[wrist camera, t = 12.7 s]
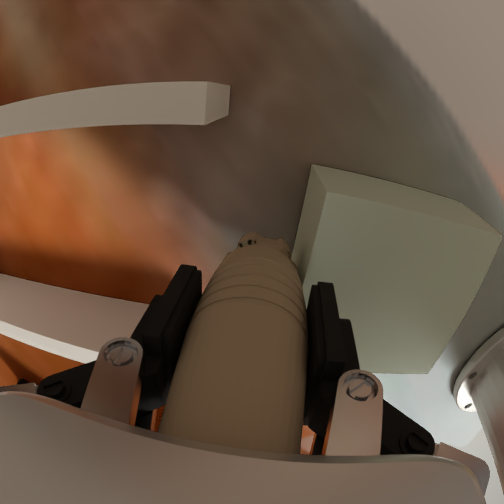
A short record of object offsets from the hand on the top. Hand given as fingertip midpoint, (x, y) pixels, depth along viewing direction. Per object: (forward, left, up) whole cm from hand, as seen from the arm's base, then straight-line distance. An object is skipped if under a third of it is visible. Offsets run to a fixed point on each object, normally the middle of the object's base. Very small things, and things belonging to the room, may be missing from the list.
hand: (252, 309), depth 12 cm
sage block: (-6, 0, -6) cm, 9 cm away
